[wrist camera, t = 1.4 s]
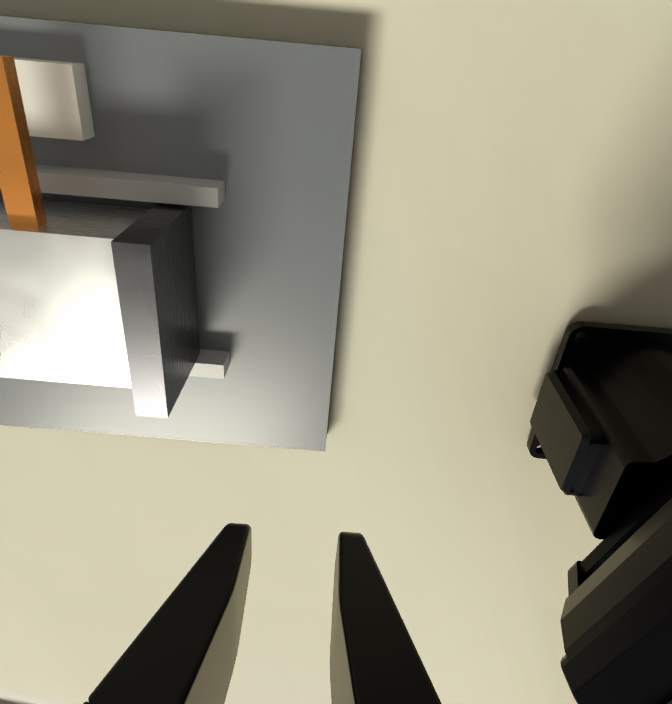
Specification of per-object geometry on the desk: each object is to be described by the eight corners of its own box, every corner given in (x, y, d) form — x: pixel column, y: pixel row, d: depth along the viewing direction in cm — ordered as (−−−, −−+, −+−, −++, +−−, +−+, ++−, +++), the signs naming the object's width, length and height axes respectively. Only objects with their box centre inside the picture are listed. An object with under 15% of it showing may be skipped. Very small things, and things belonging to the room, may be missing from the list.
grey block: (183, 65, 15) (131, 74, 12) (200, 352, 20) (167, 418, 16) (-66, 43, 15) (-191, 44, 12) (12, 336, 20) (-60, 399, 16)
